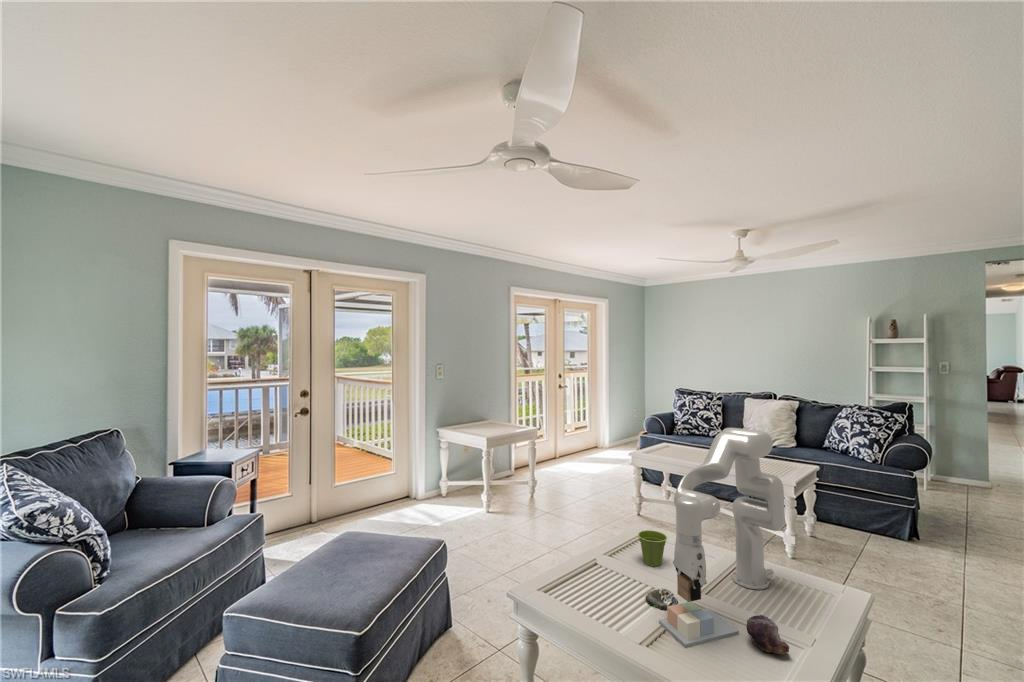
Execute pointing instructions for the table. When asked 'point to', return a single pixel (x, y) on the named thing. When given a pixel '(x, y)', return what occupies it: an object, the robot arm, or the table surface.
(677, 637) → the assembly board
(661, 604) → the grey oval shell
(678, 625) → the cream block
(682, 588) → the walnut block
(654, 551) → the plant pot
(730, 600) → the table surface
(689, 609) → the sage block
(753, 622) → the rock
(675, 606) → the terracotta block
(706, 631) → the blue block
